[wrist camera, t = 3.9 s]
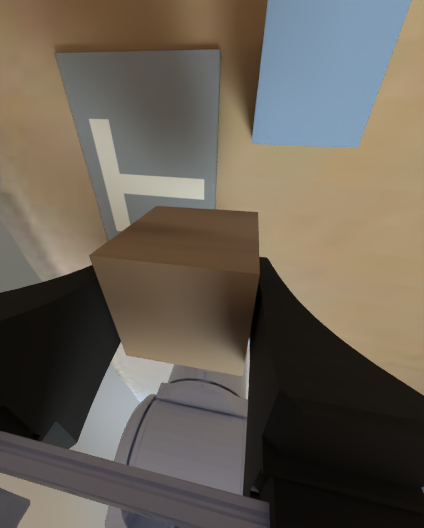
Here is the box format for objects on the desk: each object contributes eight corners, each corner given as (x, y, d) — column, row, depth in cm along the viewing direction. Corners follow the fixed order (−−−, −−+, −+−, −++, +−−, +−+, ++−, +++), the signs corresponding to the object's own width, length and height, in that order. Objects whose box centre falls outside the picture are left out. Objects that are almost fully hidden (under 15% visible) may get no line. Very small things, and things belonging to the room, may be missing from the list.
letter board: (213, 269, 21) (212, 271, 21) (115, 257, 22) (113, 259, 22) (220, 51, 12) (220, 49, 12) (59, 54, 14) (54, 52, 13)
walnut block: (247, 293, 12) (242, 376, 8) (167, 283, 13) (126, 355, 9) (257, 212, 9) (259, 273, 5) (156, 205, 10) (88, 255, 6)
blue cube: (327, 143, 14) (357, 147, 10) (252, 140, 14) (251, 143, 10) (358, 36, 11) (419, -22, 7) (264, 39, 12) (269, -12, 8)
